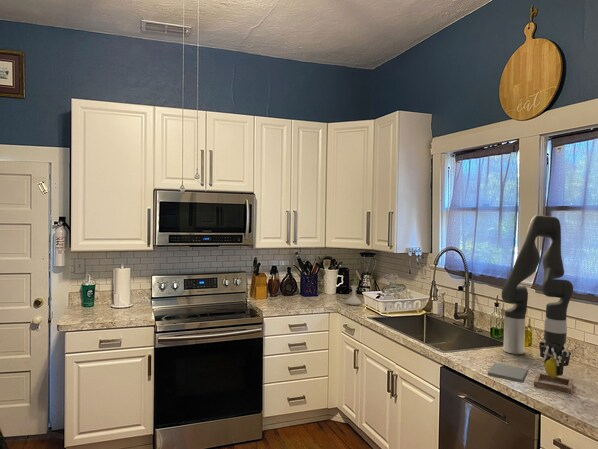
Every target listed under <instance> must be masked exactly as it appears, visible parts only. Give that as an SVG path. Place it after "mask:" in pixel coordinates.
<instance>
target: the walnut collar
mask: <svg viewBox="0 0 598 449" xmlns="http://www.w3.org/2000/svg"><path fill="white" fill-rule="evenodd" d="M540 380H543V381H540ZM544 381H549V382H553V383H559V384H564V385H567V386H562V385H558V384H553V383H549V382H544ZM573 382H574V379H571V378H567V377H563V376H557V377H554V378H551V377H550V376H549V375H548V374H547V373H541V372H537V373H536V376H535V377H534V381H533V387H534V388H535V387H536V388H539V389H544V390H548V389H549V391H553V392H557V391H558V392H559V393H562V392H563V393H564V394H567V395H572V392H573Z"/></svg>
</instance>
